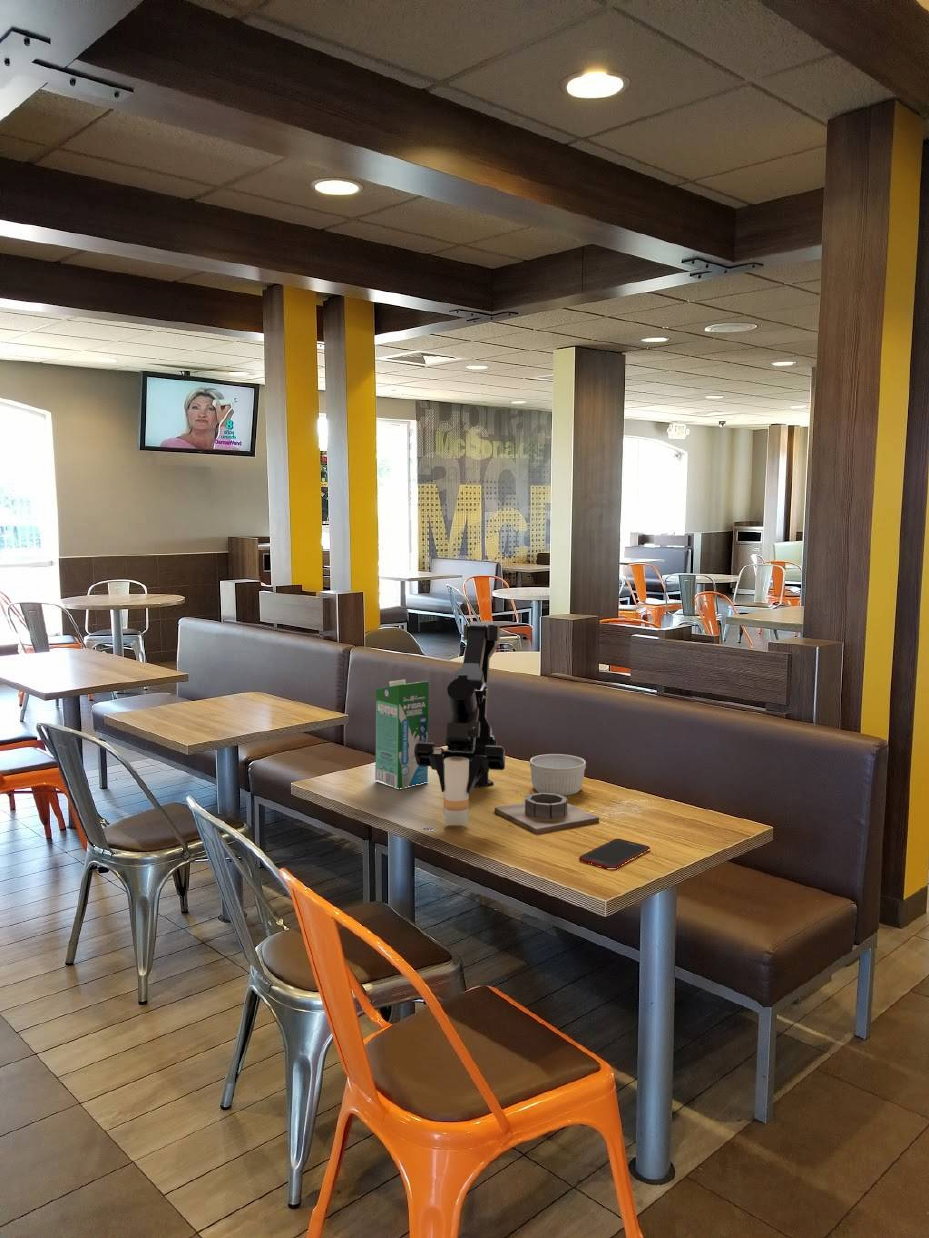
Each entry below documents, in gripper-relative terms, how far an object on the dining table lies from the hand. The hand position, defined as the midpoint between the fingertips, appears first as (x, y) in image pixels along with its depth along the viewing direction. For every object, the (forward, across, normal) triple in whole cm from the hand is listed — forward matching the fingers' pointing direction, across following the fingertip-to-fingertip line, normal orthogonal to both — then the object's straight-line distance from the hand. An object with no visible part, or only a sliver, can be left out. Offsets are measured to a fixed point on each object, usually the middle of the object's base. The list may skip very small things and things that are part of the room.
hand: (455, 791), depth 191 cm
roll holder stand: (-2, +18, +13) cm, 23 cm away
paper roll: (+4, 0, +6) cm, 7 cm away
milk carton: (-16, -18, +28) cm, 37 cm away
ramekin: (-17, +19, +29) cm, 39 cm away
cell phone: (+13, +32, -1) cm, 35 cm away
